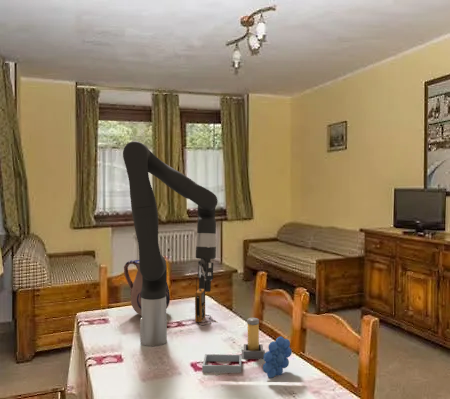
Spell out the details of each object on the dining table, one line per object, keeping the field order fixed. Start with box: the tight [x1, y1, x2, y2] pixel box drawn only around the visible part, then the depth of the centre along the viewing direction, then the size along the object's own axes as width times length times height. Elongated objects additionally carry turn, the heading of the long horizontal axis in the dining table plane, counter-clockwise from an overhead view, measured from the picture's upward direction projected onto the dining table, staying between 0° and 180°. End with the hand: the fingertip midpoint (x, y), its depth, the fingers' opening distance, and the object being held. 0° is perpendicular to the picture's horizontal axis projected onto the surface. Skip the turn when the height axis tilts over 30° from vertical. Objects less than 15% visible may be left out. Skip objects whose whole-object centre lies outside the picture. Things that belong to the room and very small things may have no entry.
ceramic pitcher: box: [123, 259, 171, 317], centre depth 194 cm, size 18×21×25 cm
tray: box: [201, 353, 242, 374], centre depth 136 cm, size 12×9×3 cm
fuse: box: [246, 317, 260, 351], centre depth 145 cm, size 4×4×12 cm
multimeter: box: [194, 275, 218, 326], centre depth 185 cm, size 15×10×20 cm
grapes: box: [262, 336, 293, 379], centre depth 131 cm, size 12×7×12 cm, turn 128°
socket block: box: [241, 343, 266, 360], centre depth 145 cm, size 8×8×3 cm
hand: (204, 290), depth 156 cm, fingers open, 8 cm apart
